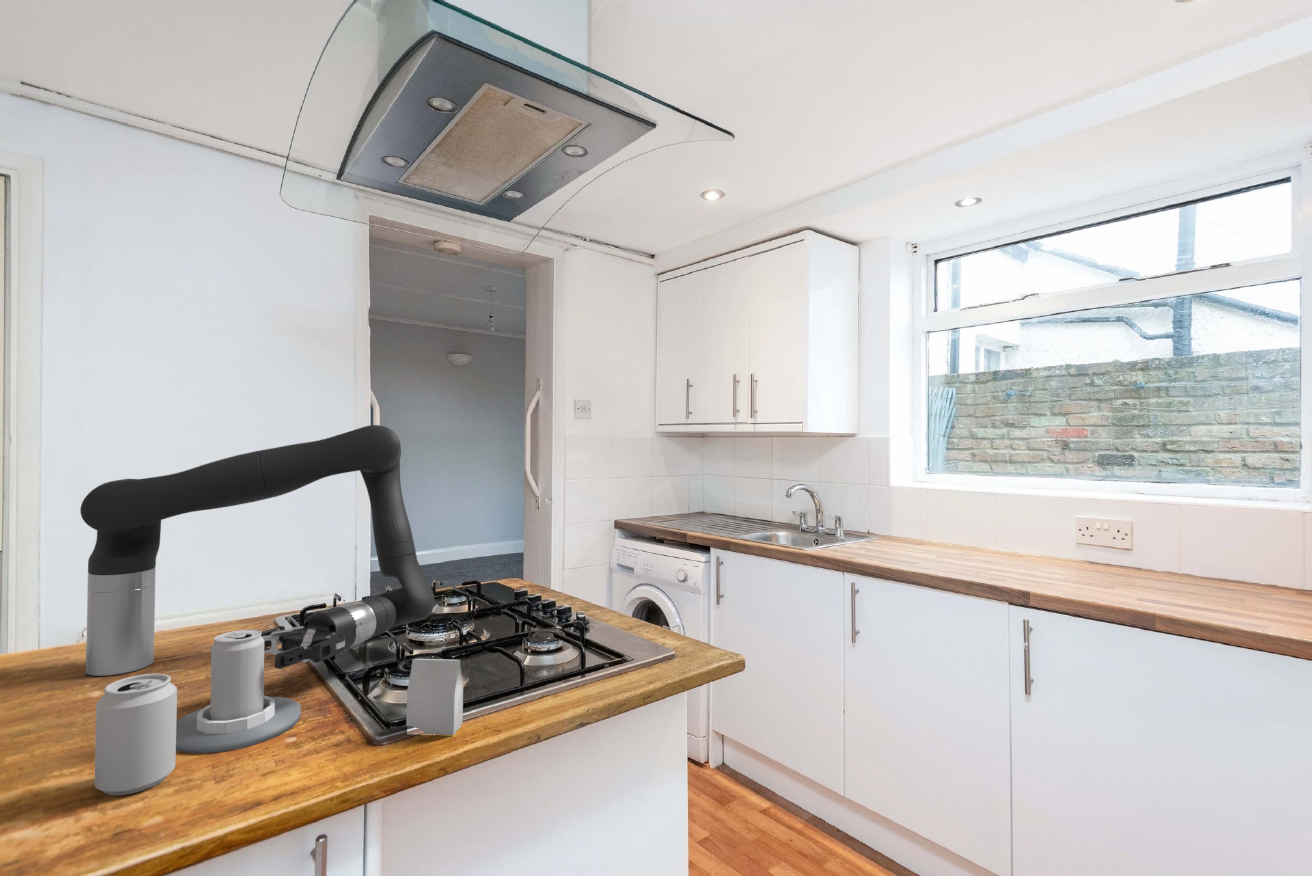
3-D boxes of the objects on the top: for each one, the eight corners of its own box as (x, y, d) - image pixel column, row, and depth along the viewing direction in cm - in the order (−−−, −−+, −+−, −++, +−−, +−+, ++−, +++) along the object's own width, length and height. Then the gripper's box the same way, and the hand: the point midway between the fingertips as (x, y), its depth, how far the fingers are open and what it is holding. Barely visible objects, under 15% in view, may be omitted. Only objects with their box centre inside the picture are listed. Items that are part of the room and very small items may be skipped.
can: (126, 766, 79) (128, 670, 79) (189, 764, 80) (191, 669, 80) (76, 800, 72) (79, 694, 72) (146, 798, 72) (149, 693, 73)
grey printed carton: (453, 736, 89) (455, 664, 89) (406, 734, 89) (407, 663, 89) (462, 724, 93) (463, 656, 93) (416, 723, 93) (417, 654, 93)
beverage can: (237, 730, 87) (238, 643, 87) (198, 725, 88) (199, 639, 88) (273, 711, 93) (275, 629, 93) (237, 707, 95) (238, 626, 95)
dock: (172, 716, 93) (173, 699, 93) (297, 695, 102) (298, 679, 102) (158, 764, 80) (159, 744, 80) (304, 735, 88) (304, 717, 88)
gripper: (308, 602, 111) (219, 627, 96) (375, 610, 107) (292, 638, 91) (308, 645, 111) (218, 677, 96) (374, 655, 107) (291, 690, 91)
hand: (254, 658), depth 93 cm, fingers open, 8 cm apart
